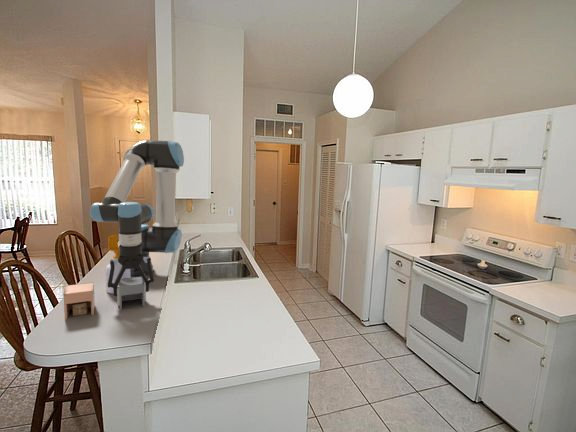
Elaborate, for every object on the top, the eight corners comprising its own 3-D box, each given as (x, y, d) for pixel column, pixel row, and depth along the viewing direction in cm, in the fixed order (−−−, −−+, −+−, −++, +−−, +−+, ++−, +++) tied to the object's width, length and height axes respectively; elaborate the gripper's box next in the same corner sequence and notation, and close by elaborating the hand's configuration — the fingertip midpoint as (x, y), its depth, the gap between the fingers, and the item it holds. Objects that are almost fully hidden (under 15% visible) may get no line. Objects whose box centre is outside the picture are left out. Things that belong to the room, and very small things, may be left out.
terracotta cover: (67, 309, 111) (66, 285, 109) (94, 305, 115) (93, 282, 113) (64, 319, 104) (63, 294, 102) (93, 315, 108) (92, 290, 106)
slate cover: (119, 301, 119) (118, 278, 118) (142, 297, 123) (142, 276, 122) (119, 309, 112) (119, 286, 111) (144, 306, 116) (144, 283, 115)
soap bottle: (116, 296, 124) (114, 236, 120) (101, 291, 127) (99, 233, 123) (135, 288, 132) (134, 232, 128) (120, 284, 135) (119, 229, 132)
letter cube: (74, 311, 110) (73, 300, 109) (87, 309, 112) (87, 298, 111) (73, 316, 106) (72, 305, 106) (86, 313, 108) (86, 303, 108)
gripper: (96, 248, 106) (99, 310, 109) (162, 244, 116) (162, 301, 119) (97, 243, 112) (99, 302, 115) (159, 239, 122) (159, 293, 126)
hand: (131, 301), depth 117 cm, fingers closed on slate cover, 8 cm apart
